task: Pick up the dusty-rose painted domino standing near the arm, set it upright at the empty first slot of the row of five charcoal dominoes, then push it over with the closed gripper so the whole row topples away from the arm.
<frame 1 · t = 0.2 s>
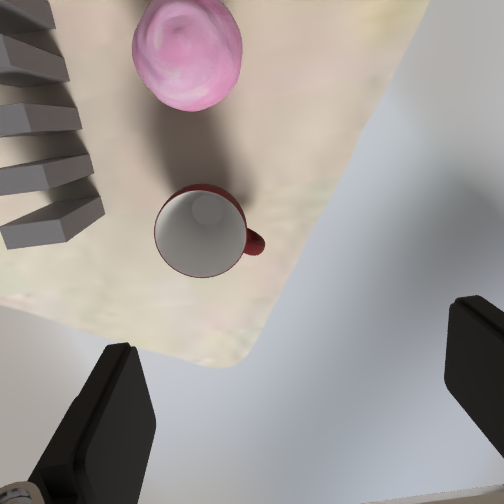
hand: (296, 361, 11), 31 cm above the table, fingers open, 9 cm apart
domino 5: (80, 208, 39), on the table
domino 4: (68, 166, 38), on the table
cupcake: (196, 65, 36), on the table
mug: (218, 212, 41), on the table
domino 1: (25, 19, 33), on the table
domino 2: (41, 72, 35), on the table
domino 3: (55, 121, 36), on the table
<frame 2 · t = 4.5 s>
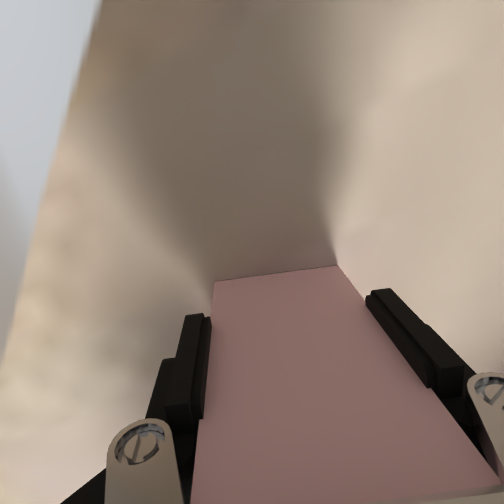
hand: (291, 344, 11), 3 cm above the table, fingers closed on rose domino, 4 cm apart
rose domino: (278, 295, 15), on the table, touching gripper
when the fingers open (4 cm above the table, at t = 9.5 s): rose domino stays where it is, on the table.
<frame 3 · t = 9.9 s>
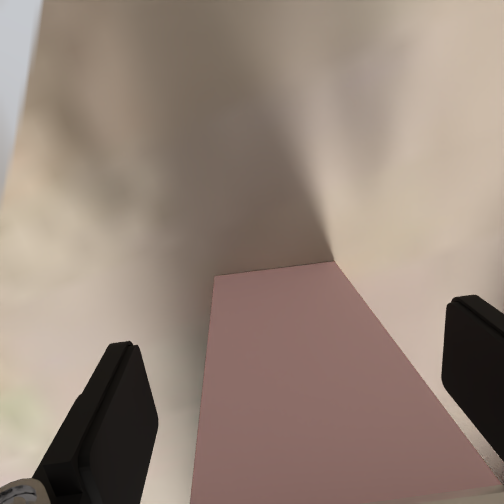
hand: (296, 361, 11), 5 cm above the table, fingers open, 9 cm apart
rose domino: (276, 290, 15), on the table
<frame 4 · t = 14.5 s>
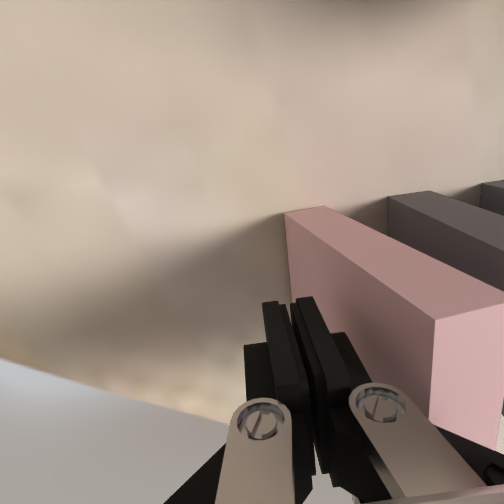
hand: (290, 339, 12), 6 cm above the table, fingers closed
rose domino: (308, 259, 17), on the table, tilted 9°, touching gripper
domino 1: (407, 243, 18), on the table
domino 2: (497, 230, 18), on the table
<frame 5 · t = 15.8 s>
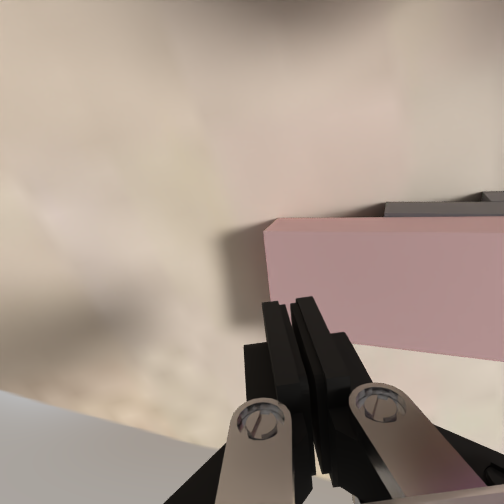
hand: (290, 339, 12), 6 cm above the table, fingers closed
rose domino: (275, 276, 17), point 1 cm above the table, tilted 65°
domino 1: (383, 260, 17), point 1 cm above the table, tilted 65°, touching domino 2
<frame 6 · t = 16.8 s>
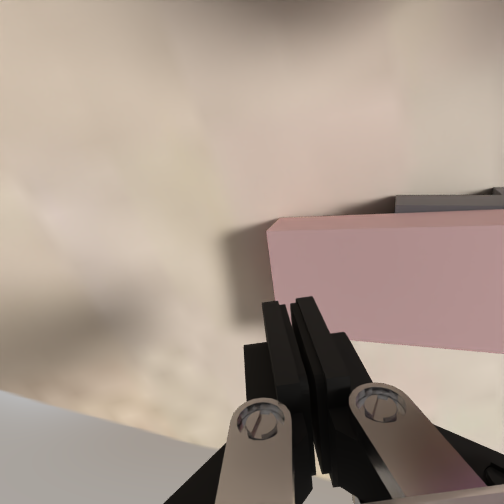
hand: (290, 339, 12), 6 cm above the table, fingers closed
rose domino: (279, 275, 17), point 1 cm above the table, tilted 66°, touching domino 1
domino 1: (392, 253, 16), point 1 cm above the table, tilted 66°, touching domino 2, rose domino
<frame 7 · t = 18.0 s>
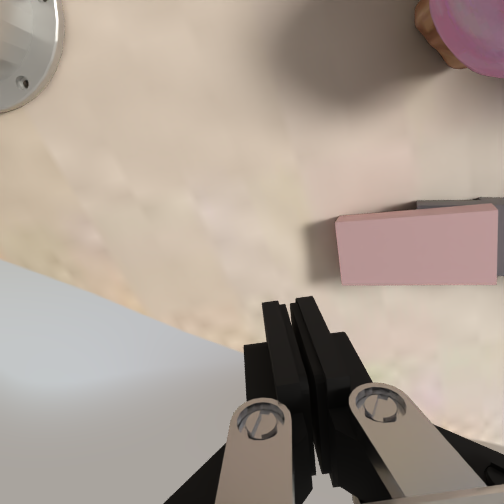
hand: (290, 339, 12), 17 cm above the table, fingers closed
cupcake: (454, 19, 24), on the table
rose domino: (340, 250, 28), point 1 cm above the table, tilted 67°, touching domino 1
domino 1: (415, 235, 27), point 1 cm above the table, tilted 67°, touching domino 2, rose domino
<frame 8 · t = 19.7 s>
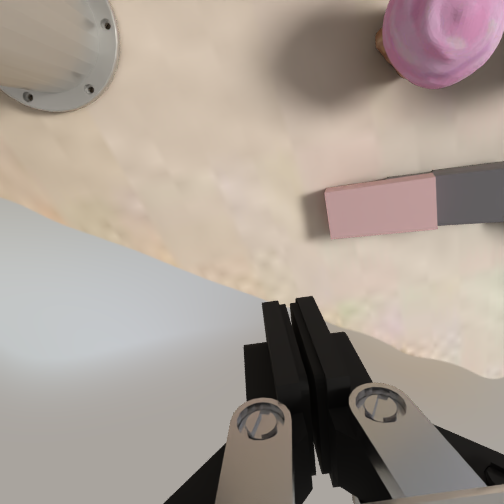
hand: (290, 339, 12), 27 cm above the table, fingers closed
cupcake: (403, 42, 34), on the table
rose domino: (328, 213, 38), point 1 cm above the table, tilted 69°
domino 1: (388, 202, 37), point 1 cm above the table, tilted 66°
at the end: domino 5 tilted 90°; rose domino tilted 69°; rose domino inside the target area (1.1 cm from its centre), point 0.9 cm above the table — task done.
